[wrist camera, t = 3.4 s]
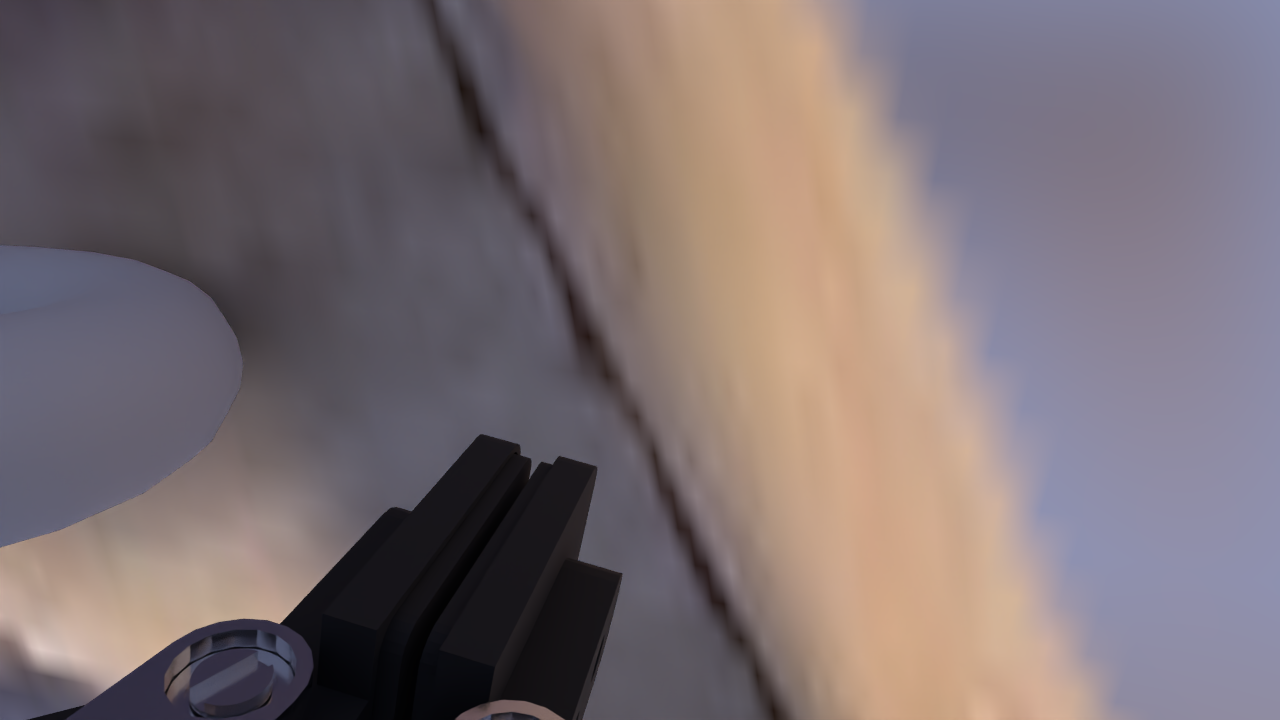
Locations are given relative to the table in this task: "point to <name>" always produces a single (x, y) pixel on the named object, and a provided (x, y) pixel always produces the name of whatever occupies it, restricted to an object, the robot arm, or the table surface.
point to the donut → (101, 383)
